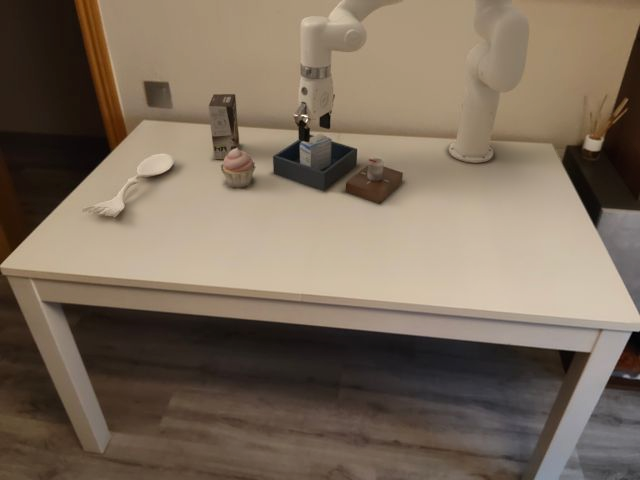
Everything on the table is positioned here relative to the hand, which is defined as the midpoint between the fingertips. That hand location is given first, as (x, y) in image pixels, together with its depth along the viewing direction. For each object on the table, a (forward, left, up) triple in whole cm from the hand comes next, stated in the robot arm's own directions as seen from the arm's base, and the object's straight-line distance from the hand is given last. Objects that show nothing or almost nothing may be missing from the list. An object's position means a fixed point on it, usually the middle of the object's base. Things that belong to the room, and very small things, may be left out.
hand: (314, 134), depth 145 cm
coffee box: (+6, -27, -11) cm, 30 cm away
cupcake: (+17, -13, -11) cm, 24 cm away
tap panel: (-1, +18, -11) cm, 21 cm away
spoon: (+35, -33, -11) cm, 49 cm away
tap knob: (-1, +18, -8) cm, 20 cm away
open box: (0, 0, -11) cm, 11 cm away
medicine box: (0, 0, -11) cm, 11 cm away
